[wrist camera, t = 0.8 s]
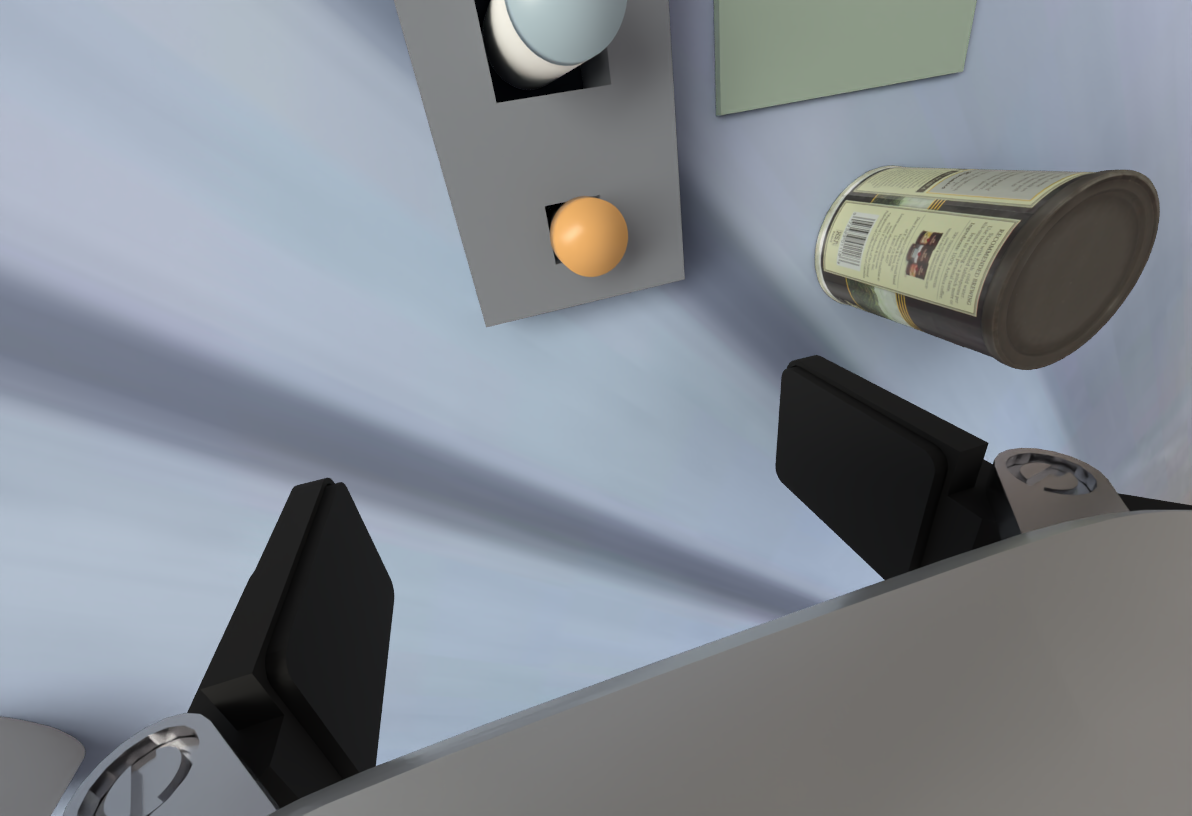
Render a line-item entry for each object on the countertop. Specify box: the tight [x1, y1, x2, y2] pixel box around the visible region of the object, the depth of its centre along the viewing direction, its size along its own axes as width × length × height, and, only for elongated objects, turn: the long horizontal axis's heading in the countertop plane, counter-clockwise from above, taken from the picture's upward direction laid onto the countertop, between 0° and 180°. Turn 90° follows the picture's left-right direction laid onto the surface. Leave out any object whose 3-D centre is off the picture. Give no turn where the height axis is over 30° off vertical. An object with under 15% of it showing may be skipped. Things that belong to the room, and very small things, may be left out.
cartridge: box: [483, 0, 627, 90], centre depth 21 cm, size 4×4×10 cm
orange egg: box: [548, 196, 628, 277], centre depth 26 cm, size 4×4×6 cm
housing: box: [394, 0, 685, 327], centre depth 25 cm, size 18×12×5 cm, turn 9°
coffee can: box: [815, 166, 1160, 370], centre depth 31 cm, size 10×10×14 cm
